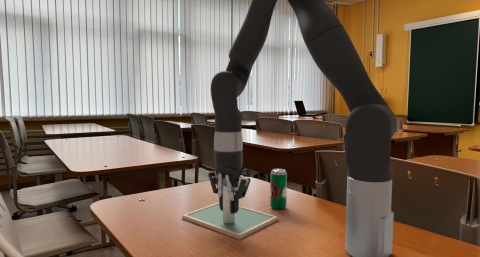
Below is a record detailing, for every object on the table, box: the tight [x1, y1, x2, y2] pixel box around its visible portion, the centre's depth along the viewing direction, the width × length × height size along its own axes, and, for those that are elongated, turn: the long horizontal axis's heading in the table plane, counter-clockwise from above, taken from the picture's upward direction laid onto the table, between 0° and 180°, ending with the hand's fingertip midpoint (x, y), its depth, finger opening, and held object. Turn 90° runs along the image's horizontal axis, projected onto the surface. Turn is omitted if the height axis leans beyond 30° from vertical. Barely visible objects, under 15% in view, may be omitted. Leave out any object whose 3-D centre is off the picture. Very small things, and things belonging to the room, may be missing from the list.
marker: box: [222, 178, 235, 223], centre depth 92 cm, size 3×3×12 cm
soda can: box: [269, 168, 288, 211], centre depth 106 cm, size 5×5×12 cm
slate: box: [181, 201, 279, 240], centre depth 97 cm, size 22×17×1 cm
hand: (228, 211), depth 92 cm, fingers closed on marker, 3 cm apart
